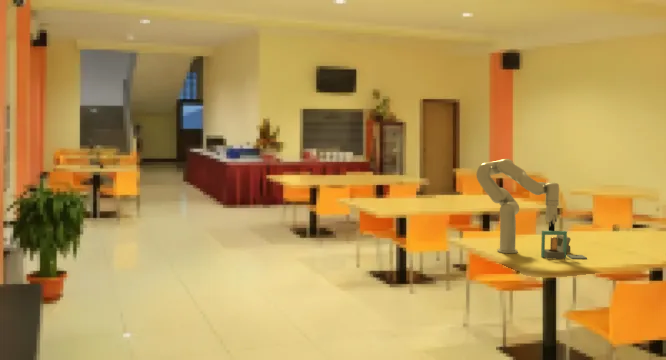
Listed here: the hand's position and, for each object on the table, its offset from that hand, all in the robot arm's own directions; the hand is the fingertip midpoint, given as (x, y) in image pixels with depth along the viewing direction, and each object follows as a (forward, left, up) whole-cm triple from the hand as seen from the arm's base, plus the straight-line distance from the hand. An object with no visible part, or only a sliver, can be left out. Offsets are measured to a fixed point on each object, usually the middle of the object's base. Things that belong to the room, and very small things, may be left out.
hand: (551, 232), depth 425 cm
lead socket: (+6, 0, -14) cm, 15 cm away
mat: (+6, +14, -14) cm, 21 cm away
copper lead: (+6, 0, -14) cm, 15 cm away
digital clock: (-13, +10, -14) cm, 22 cm away
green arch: (+6, 0, -14) cm, 15 cm away
